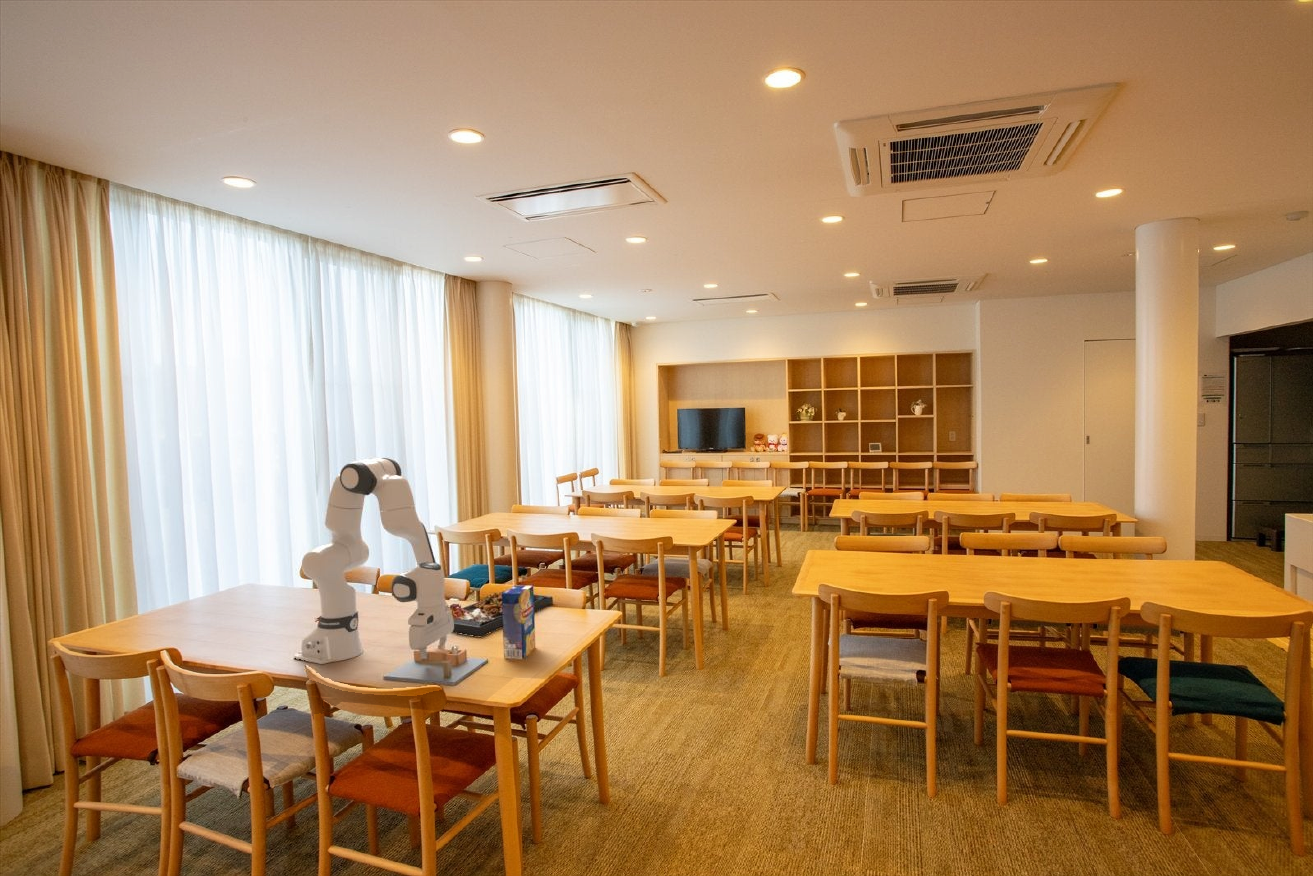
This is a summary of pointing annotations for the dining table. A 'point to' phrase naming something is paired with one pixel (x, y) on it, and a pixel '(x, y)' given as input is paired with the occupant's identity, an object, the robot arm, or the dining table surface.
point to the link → (443, 655)
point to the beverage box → (518, 621)
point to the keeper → (443, 663)
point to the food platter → (486, 614)
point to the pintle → (455, 650)
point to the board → (434, 672)
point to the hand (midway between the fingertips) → (433, 654)
